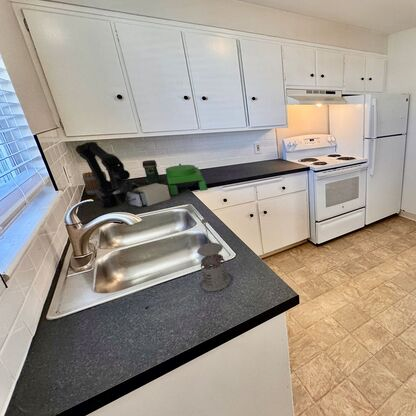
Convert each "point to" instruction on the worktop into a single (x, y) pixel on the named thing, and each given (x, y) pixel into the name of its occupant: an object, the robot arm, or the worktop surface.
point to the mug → (91, 183)
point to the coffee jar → (151, 171)
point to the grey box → (155, 193)
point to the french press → (214, 276)
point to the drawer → (136, 198)
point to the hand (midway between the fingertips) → (123, 202)
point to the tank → (184, 177)
